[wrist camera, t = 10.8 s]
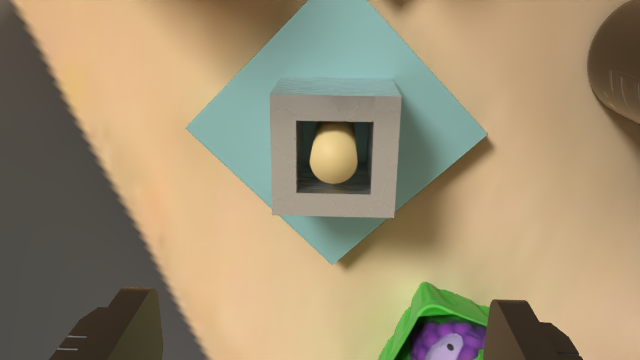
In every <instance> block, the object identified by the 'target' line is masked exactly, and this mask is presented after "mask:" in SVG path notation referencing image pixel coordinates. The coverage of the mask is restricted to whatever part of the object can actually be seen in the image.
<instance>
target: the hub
mask: <svg viewBox="0 0 640 360" xmlns="http://www.w3.org/2000/svg"><path fill="white" fill-rule="evenodd" d="M281 77H328V78H392V79H393V81H394V83H395V85H396V87H397V89H398V91H399V92H400V94H401V96H402V99H401V116H400V132H399V148H398V165H397V181H396V197H395V212H396V211H397V210H398V209H400V208H401V207H402V206H403V205H404V204H406V203H407V202H408V201H409V200H410V199H412V198H413V197H414V196H415V195H416V194H418V193H419V192H420V191H421V190H422V189H423V188H425V187H426V186H427V185H428V184H429V183H431V182H432V181H433V180H434V179H435V178H437V177H438V176H439V175H440V174H441V173H442V172H444V171H445V170H446V169H447V168H448V167H450V166H451V165H452V164H453V163H454V162H456V161H457V160H458V159H459V158H460V157H462V156H463V155H464V154H465V153H466V152H467V151H469V150H470V149H471V148H472V147H473V146H475V145H476V144H477V143H478V142H479V141H481V140H482V139H483V138H484V137H485V136H486V135H488V134H487V133H486V132H485V131H484V130H483V128H482V127H481V126H480V125H479V124H478V123H477V122H476V121H475V120H474V118H473V117H472V116H471V115H470V114H469V113H468V112H467V111H466V110H465V108H464V107H463V106H462V105H461V104H460V103H459V102H458V101H457V100H456V98H455V97H454V96H453V95H452V94H451V93H450V92H449V91H448V90H447V88H446V87H445V86H444V85H443V84H442V83H441V82H440V81H439V80H438V78H437V77H436V76H435V75H434V74H433V73H432V72H431V71H430V70H429V68H428V67H427V66H426V65H425V64H424V63H423V62H422V61H421V60H420V58H419V57H418V56H417V55H416V54H415V53H414V52H413V51H412V50H411V48H410V47H409V46H408V45H407V44H406V43H405V42H404V41H403V40H402V39H401V37H400V36H399V35H398V34H397V33H396V32H395V31H394V30H393V29H392V27H391V26H390V25H389V24H388V23H387V22H386V21H385V20H384V19H383V17H382V16H381V15H380V14H379V13H378V12H377V11H376V10H375V9H374V7H373V6H372V5H371V4H370V3H369V2H368V1H367V0H308V1H307V2H306V3H305V4H304V5H303V6H302V7H301V8H300V9H299V10H298V11H297V12H296V13H295V14H294V15H293V17H292V18H291V19H290V20H289V21H288V22H287V23H286V24H285V25H284V26H283V27H282V28H281V29H280V30H279V31H278V32H277V33H276V34H275V35H274V36H273V37H272V38H271V39H270V40H269V41H268V43H267V44H266V45H265V46H264V47H263V48H262V49H261V50H260V51H259V52H258V53H257V54H256V55H255V56H254V57H253V58H252V59H251V60H250V61H249V62H248V63H247V64H246V65H245V66H244V68H243V69H242V70H241V71H240V72H239V73H238V74H237V75H236V76H235V77H234V78H233V79H232V80H231V81H230V82H229V83H228V84H227V85H226V86H225V87H224V88H223V89H222V90H221V91H220V92H219V94H218V95H217V96H216V97H215V98H214V99H213V100H212V101H211V102H210V103H209V104H208V105H207V106H206V107H205V108H204V109H203V110H202V111H201V112H200V113H199V114H198V115H197V116H196V117H195V118H194V120H193V121H192V122H191V123H190V124H189V125H188V126H187V127H186V129H187V130H188V131H189V132H190V133H191V134H192V135H193V136H194V137H195V138H196V139H197V140H198V141H200V142H201V143H202V144H203V145H204V146H205V147H206V148H207V149H208V150H209V151H210V152H211V153H212V154H213V155H215V156H216V157H217V158H218V159H219V160H220V161H221V162H222V163H223V164H224V165H225V166H226V167H227V168H228V169H230V170H231V171H232V172H233V173H234V174H235V175H236V176H237V177H238V178H239V179H240V180H241V181H242V182H244V183H245V184H246V185H247V186H248V187H249V188H250V189H251V190H252V191H253V192H254V193H255V194H256V195H257V196H259V197H260V198H261V199H262V200H263V201H264V202H265V203H266V204H267V205H268V206H269V207H270V208H271V209H272V180H271V138H270V96H269V94H270V93H271V91H272V90H273V88H274V87H275V85H276V84H277V82H278V81H279V79H280V78H281ZM367 133H368V122H348V121H303V161H310V166H311V169H312V171H313V173H314V174H315V176H316V177H317V178H319V179H320V180H322V181H324V182H326V183H330V184H337V183H341V182H344V181H346V180H348V179H349V178H350V177H351V176H352V175H353V174H354V172H355V170H356V167H357V162H364V163H366V158H367ZM279 216H280V217H281V218H282V219H283V220H284V221H285V222H286V223H288V224H289V225H290V226H291V227H292V228H293V229H294V230H295V231H296V232H297V233H298V234H299V235H300V236H302V237H303V238H304V239H305V240H306V241H307V242H308V243H309V244H310V245H311V246H312V247H313V248H314V249H315V250H317V251H318V252H319V253H320V254H321V255H322V256H323V257H324V258H325V259H326V260H327V261H328V262H329V263H331V264H332V265H333V264H334V263H335V262H337V261H338V260H339V259H340V258H341V257H343V256H344V255H345V254H346V253H347V252H349V251H350V250H351V249H352V248H353V247H354V246H356V245H357V244H358V243H359V242H360V241H362V240H363V239H364V238H365V237H366V236H368V235H369V234H370V233H371V232H372V231H374V230H375V229H376V228H377V227H378V226H379V225H381V224H382V223H383V222H384V221H385V220H387V219H388V218H373V217H331V216H289V215H279Z"/></svg>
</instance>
